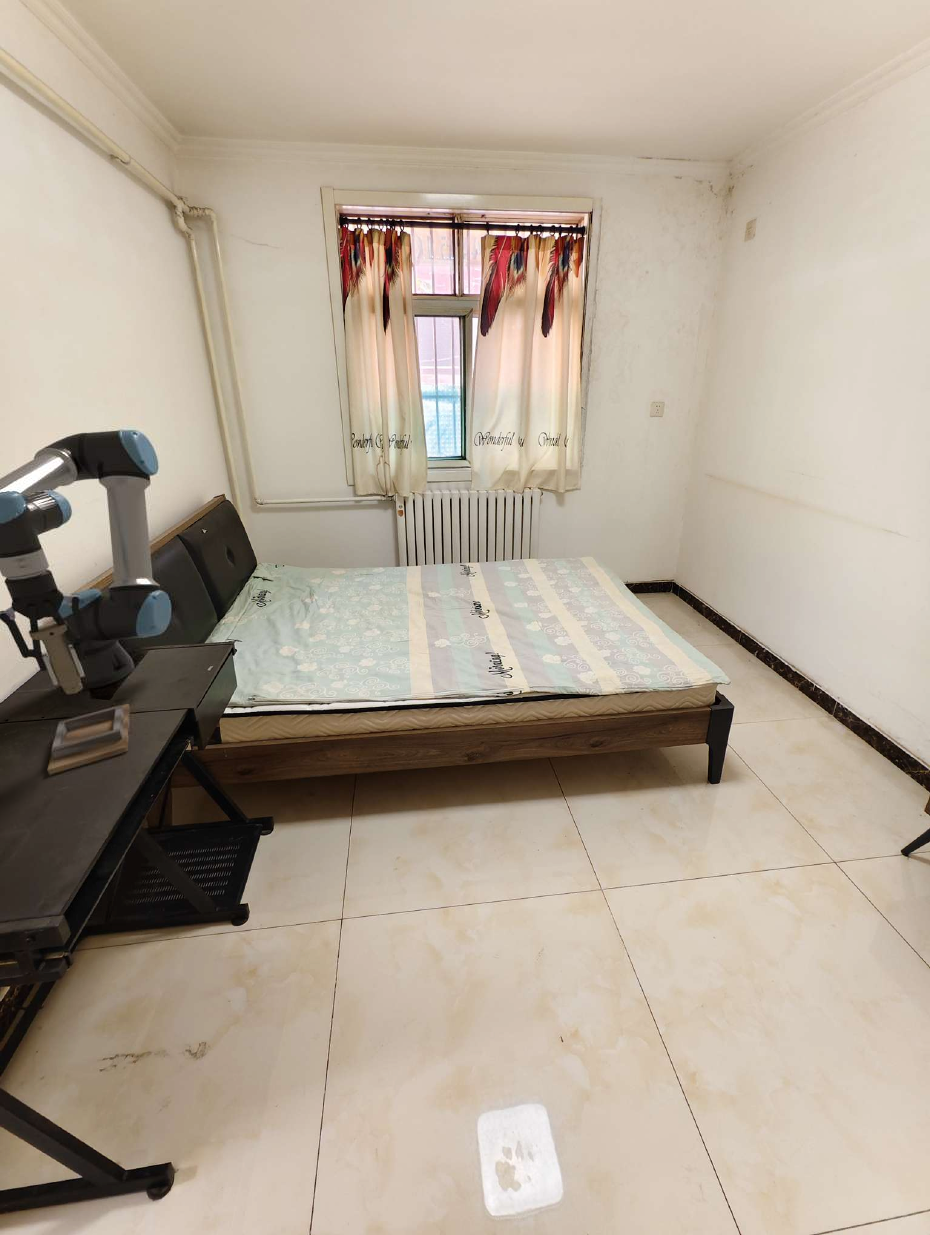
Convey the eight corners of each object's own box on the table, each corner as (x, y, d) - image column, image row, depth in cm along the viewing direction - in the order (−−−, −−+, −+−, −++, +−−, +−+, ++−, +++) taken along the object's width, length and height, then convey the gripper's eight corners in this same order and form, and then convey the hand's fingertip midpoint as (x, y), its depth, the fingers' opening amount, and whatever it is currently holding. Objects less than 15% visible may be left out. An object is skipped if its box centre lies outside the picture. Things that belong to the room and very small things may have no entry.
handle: (54, 693, 118) (26, 629, 112) (88, 681, 122) (63, 619, 116) (59, 701, 115) (31, 635, 109) (94, 688, 119) (68, 624, 113)
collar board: (62, 726, 129) (57, 714, 128) (130, 707, 135) (125, 696, 134) (49, 774, 113) (43, 762, 111) (127, 751, 118) (122, 739, 117)
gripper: (-30, 589, 101) (20, 700, 110) (80, 566, 110) (117, 670, 119) (-28, 580, 106) (19, 686, 116) (76, 559, 116) (112, 658, 125)
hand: (68, 678), depth 117 cm, fingers closed on handle, 4 cm apart
